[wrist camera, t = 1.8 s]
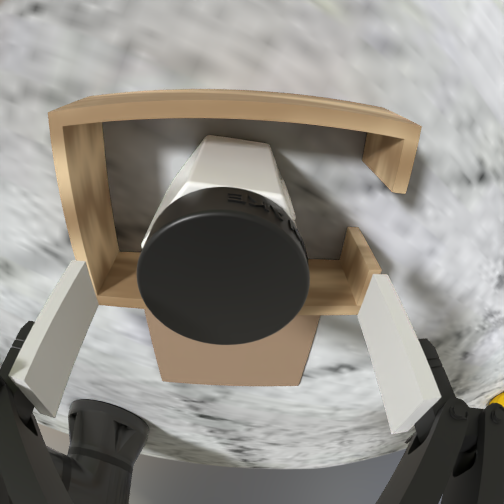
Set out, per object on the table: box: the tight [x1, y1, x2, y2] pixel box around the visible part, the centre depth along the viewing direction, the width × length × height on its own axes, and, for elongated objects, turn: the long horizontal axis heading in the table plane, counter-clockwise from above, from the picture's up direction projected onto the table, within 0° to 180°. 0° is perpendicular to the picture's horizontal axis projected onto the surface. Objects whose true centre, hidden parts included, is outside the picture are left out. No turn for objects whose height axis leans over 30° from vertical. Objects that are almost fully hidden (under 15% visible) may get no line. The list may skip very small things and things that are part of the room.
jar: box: [136, 135, 310, 345], centre depth 19 cm, size 9×8×12 cm
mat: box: [144, 309, 320, 386], centre depth 34 cm, size 18×18×1 cm
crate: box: [48, 89, 422, 315], centre depth 22 cm, size 15×22×6 cm
